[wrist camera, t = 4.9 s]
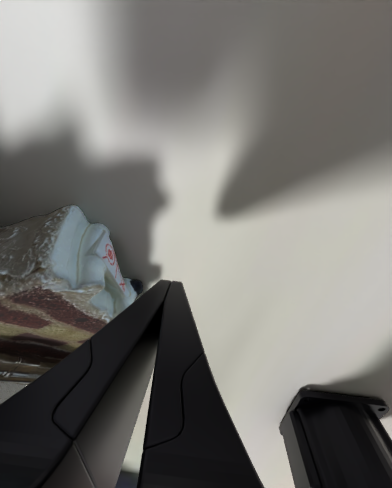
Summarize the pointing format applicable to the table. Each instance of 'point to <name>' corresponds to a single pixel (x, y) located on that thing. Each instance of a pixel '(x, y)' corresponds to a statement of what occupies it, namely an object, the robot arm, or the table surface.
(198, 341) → the robot arm
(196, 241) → the table surface
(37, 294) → the chocolate cake
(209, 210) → the table surface
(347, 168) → the table surface
